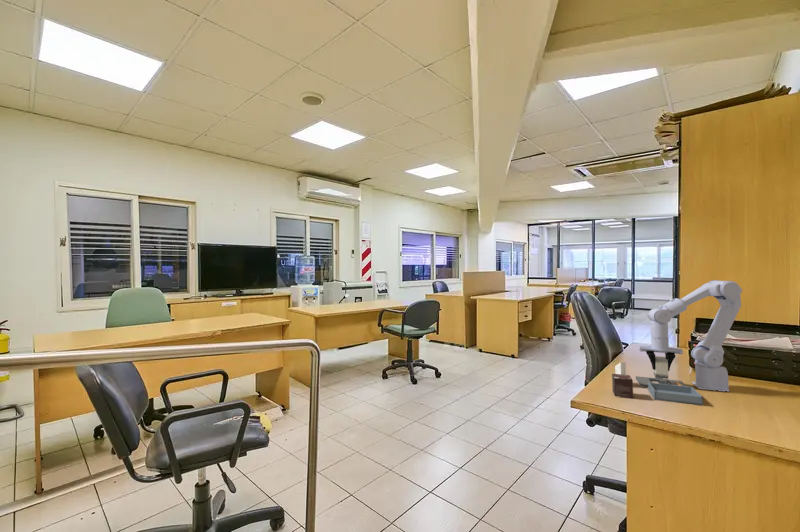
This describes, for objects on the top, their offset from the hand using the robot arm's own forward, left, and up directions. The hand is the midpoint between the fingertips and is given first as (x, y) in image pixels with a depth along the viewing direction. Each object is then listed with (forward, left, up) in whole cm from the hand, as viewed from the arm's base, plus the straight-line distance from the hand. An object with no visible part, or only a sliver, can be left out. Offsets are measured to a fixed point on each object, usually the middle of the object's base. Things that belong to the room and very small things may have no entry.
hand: (660, 369), depth 140 cm
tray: (-1, +14, -6) cm, 15 cm away
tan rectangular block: (0, 0, -3) cm, 3 cm away
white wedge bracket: (+14, +5, -7) cm, 16 cm away
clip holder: (0, 0, -6) cm, 6 cm away
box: (+16, +19, -7) cm, 25 cm away
